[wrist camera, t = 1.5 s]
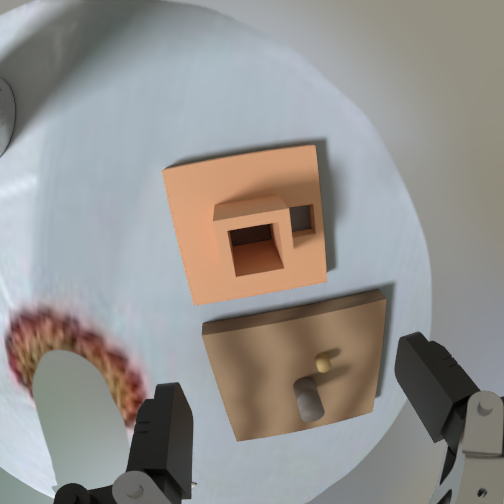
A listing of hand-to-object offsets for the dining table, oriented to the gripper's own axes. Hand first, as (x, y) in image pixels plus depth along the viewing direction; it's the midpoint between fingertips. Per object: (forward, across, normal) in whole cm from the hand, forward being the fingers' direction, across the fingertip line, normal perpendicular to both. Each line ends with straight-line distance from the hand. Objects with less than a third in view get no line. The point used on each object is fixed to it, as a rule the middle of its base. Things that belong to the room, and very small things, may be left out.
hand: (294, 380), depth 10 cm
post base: (+18, -3, +18) cm, 26 cm away
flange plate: (+18, 0, 0) cm, 18 cm away
